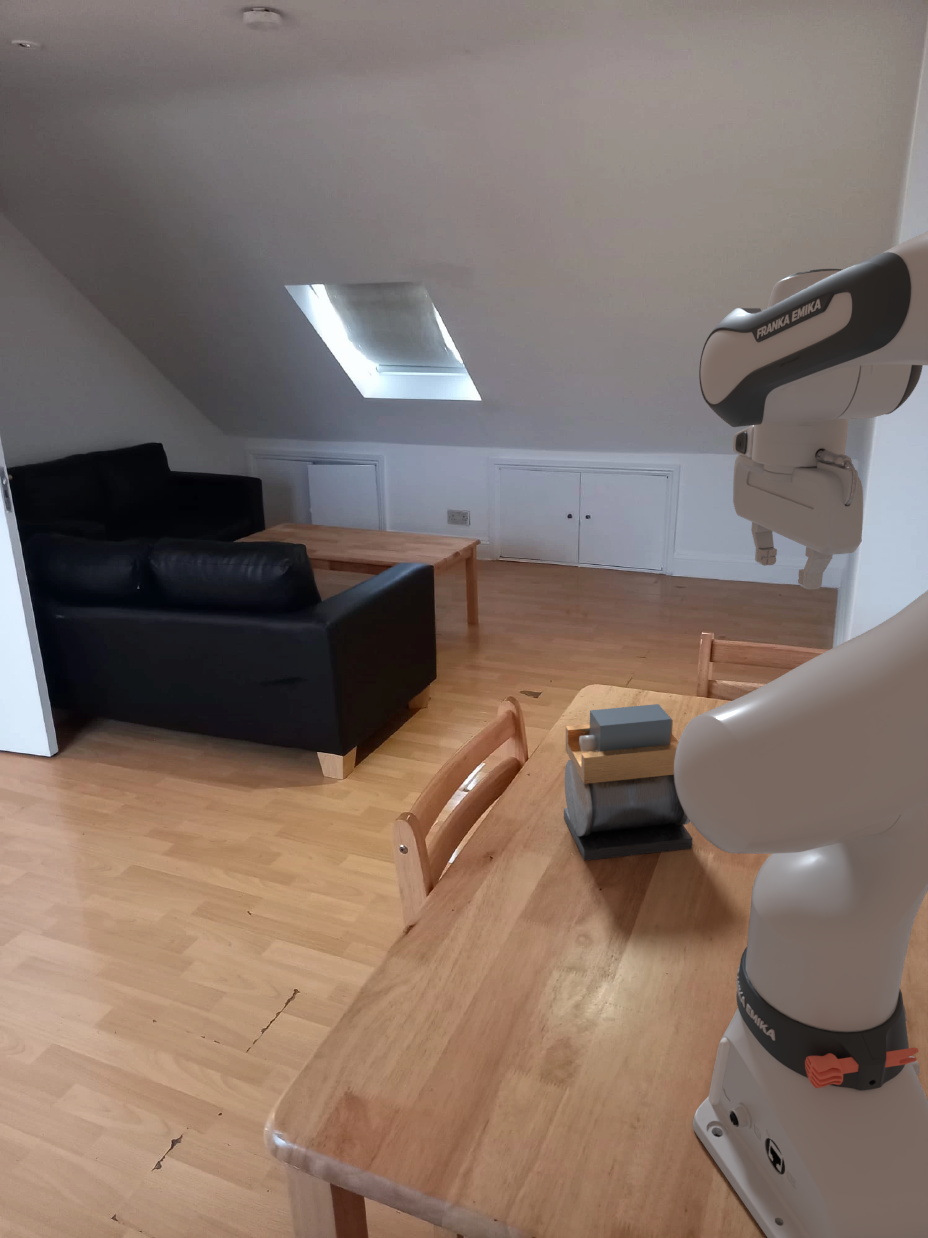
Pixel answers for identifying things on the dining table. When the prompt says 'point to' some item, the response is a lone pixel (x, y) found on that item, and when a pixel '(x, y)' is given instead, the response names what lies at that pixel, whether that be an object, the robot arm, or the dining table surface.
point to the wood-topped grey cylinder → (623, 799)
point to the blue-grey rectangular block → (627, 728)
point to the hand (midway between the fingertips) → (786, 575)
